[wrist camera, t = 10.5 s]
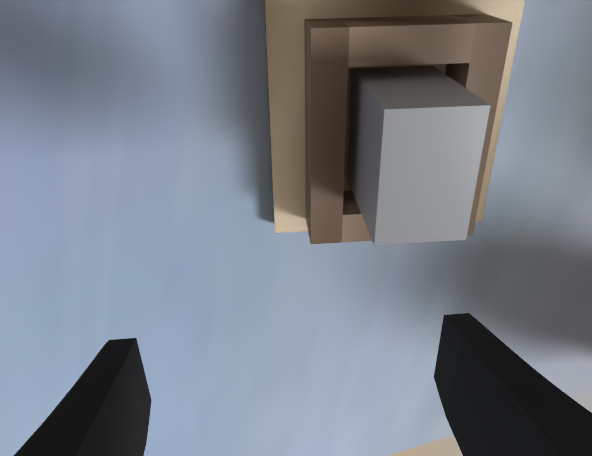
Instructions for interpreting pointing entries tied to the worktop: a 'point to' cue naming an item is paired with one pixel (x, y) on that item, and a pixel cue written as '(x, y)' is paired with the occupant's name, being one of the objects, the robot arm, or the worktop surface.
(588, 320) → the worktop surface
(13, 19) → the worktop surface
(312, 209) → the wooden holder
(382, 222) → the grey rectangular block
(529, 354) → the worktop surface
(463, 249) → the worktop surface
